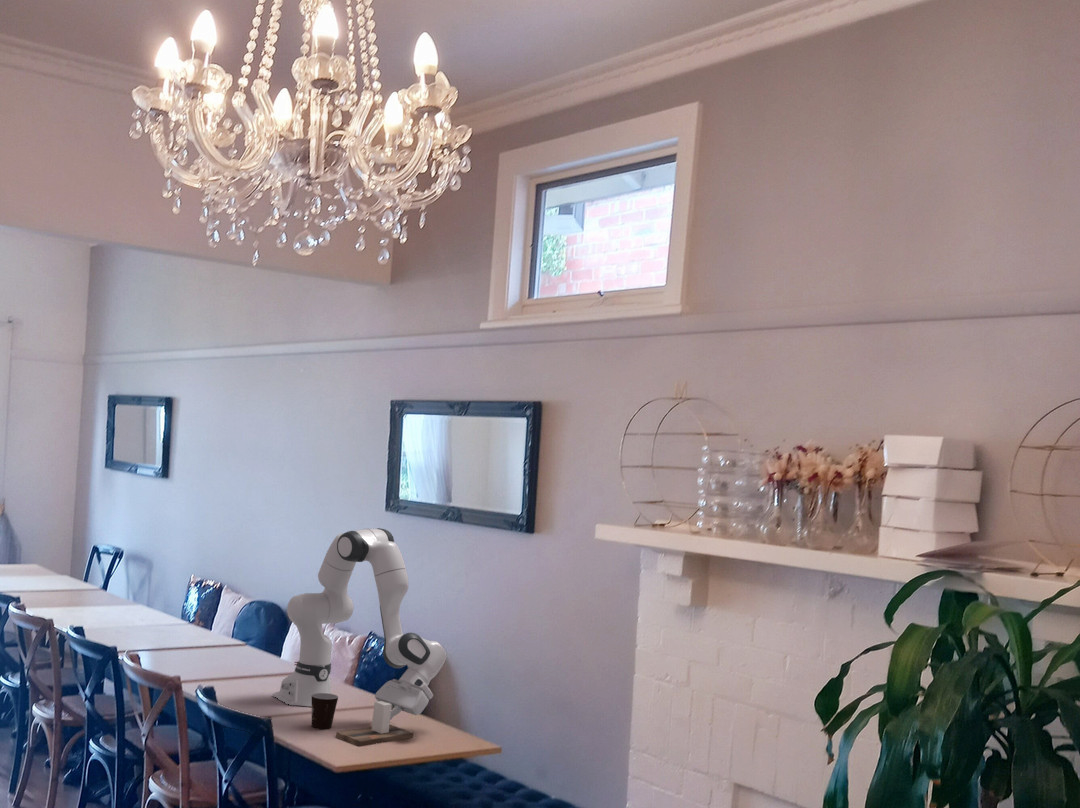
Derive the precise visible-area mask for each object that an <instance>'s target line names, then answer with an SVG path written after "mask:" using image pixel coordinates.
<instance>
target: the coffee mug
mask: <svg viewBox="0 0 1080 808" xmlns="http://www.w3.org/2000/svg"><path fill="white" fill-rule="evenodd" d="M338 699H339V696H338V695H336V694H334V693H331V694H328V693H316V694H312V707H311V728H312V729H315V730H320V731H321V730H323V731H324V730H331V729H332V725H333V721H334V716H335V713H336V709H337V704H338Z"/></svg>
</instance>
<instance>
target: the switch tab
mask: <svg viewBox="0 0 1080 808" xmlns="http://www.w3.org/2000/svg"><path fill="white" fill-rule="evenodd" d="M391 706H392V704H390V703H387V702H384V701H377V700H376V701H374V704H373V712H372V722H371V727H372V730H373V731H376V732H378V733H381V734H382V733H388V732H389V724H390V722H391V720H390V715H391V711H392V710H391ZM390 725H391V724H390Z"/></svg>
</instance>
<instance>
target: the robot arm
mask: <svg viewBox="0 0 1080 808" xmlns="http://www.w3.org/2000/svg"><path fill="white" fill-rule="evenodd" d="M403 557H404V556H403V554H402V552H401V550H400V548H399V546H398V544H397V543H396V542H395V539H394V536H393V534H392V533H391V532H390V530H387V529H386V528H380V527H379V528H362V529H358V530H348V531H346V532H344V533H343V532H342V533H339V534H337V535H336V536H335V537H334V538H333V540H332V542H331V544H330V546H329V547H328V549H327V551H326V553H325V556H324V557H323V558H324V559H323V560H322V564H321V565H320V568H319V571H318V573H317V577H318V582H319V583H320V585H321V586H323V587H324V589H323V591H322V592H317V593H316V592H315V593H313V592H310V593H309V592H307V593H300V594H297V595H294V596H292V597H291V598H290V599H289V601H288V604H287V607H286V608H287V609H286V612H287V617H288V618H289V620H290V621H291V622H292V623H293V624H294V625H295V626H296V628H297V630H298V634H299V637H300V644H299V645H300V651H299V657H298V658H299V659H298V661H294V665H293V666H295V668H294V671H293V672H292V673H290V674H289V675H288V676H285V678H283V679H282V681H281V684H280V688H279V691H276V692H273V693H272V697H274V698H275V697H276V698H275V699H277V698H278V700H279V701H280V702H282V701H283V703H284V702H285V703H284V704H286V705H288V704H289V705H288V706H300V707H301V706H302V707H311V708H312V694H316V693H328V694H332V693H331V687H332V686H331V684H332V683H331V682H332V681H331V679H332V678H331V677H330V674H331V672H332V671H331V670H332V663H331V658H332V650H333V649H332V648H333V642H332V639H331V638H330V637H329V636H327V635H326V634H324V632H323V625H326V624H328V625H329V624H340V623H342V622H346V621H349V620H350V618H352V615H353V613H354V603H353V600H352V598H351V597H350V595H349V594H348V584H349V582H350V580H351V576H352V574H353V572H354V568H355V566H356V564H357V563H363V562H368V563H369V564H370V565H371V567H372V571H373V577H374V580H375V585H376V589H377V594H378V603H379V611H380V618H381V623H382V630H383V638H384V640H383V648H382V657H383V659H384V661H385V663H386V664H387V665H388V666H389V667H390V668H391V667H392V668H393V669H402V668H403V667H406V666H407V669H406V670H405V671H404V672H403V674H402V675H401V677H400V678H399V679H396V678H392V679H391V680H388V681H386V682H385V683H384V684H383V685H382V686H381V687H380V688H379V689H378V690H377V691H376V692H375V694H374V695H375V696H374V698H375V699H376V701H384V702H387V703H390V704H392V706H391V715H390V721H391V720H392V719H393V717H395V716H397V715H398V714H400V713H401V712H404V713H407V714H411V715H413V716H419V715H420V714H421V713H422V712H423V711H424V710H425V708H426V707H427V706H428V704H429V701H430V700H431V699H433V697H434V694H433V692H432V690H431V689H430V688H429V684H430V682H431V680H433V678H435V677H436V676H437V674H438V673H439V672H440V670H441V669H442V668H443V665H444V663H445V662H446V659H447V653H446V650H445V648H444V646H443V645H442V644H440V642H438V641H436V640H428V639H425V638H424V637H422V636H420V635H419V634H417V633H415V632H406V633H403V627H402V622H401V615H400V609H401V608H400V607H401V604H402V601H403V599H404V597H405V596H406V594H407V592H408V590H409V575H408V571H407V567H406V564H405V561H404V558H403Z"/></svg>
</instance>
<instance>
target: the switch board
mask: <svg viewBox="0 0 1080 808" xmlns="http://www.w3.org/2000/svg"><path fill="white" fill-rule="evenodd" d="M335 733H336V734H335V737H336V738H337V739H340V740H343V741H346V742H348V743H350V744H353V745H356V746H358V747H363V746H364V747H365V746H370V745H376V743H377V744H382V742H383V743H388V741H389V742H394V741H398V740H399V741H400V740H406V739H411V738H412V739H413V738H414V732H413V731H409V730H407V729H405V728H404V729H403V728H400V727H398V726H395V725H392V724H389V732H388V733H382V734H381V733H378V732H376V731H373V730H372V726H370V727H369V726H368V727H362V728H357V729H354V728H353V729H349V730H348V729H347V730H343V731H336V732H335Z"/></svg>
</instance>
